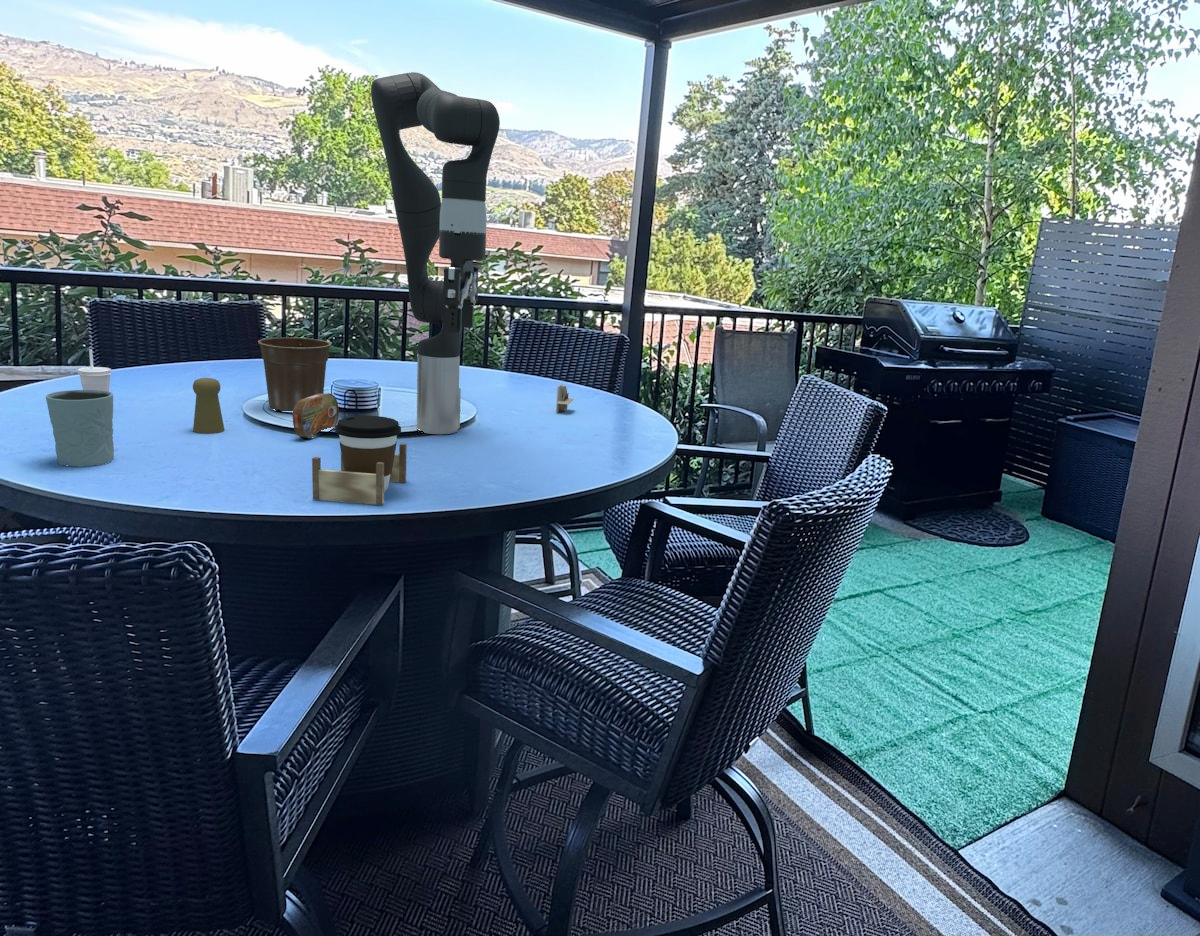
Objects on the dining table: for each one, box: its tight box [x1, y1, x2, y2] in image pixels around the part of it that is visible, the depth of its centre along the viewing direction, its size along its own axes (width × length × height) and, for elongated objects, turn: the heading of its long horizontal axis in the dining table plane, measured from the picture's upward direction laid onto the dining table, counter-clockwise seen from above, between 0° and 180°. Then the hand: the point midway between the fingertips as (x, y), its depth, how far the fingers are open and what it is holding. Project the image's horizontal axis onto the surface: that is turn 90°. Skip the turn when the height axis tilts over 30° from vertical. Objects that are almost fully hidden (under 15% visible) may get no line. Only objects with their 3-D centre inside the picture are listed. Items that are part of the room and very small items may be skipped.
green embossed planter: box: [45, 389, 115, 467], centre depth 149 cm, size 10×10×12 cm
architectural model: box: [555, 383, 574, 414], centre depth 221 cm, size 3×7×7 cm, turn 171°
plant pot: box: [257, 337, 332, 412], centre depth 201 cm, size 16×16×16 cm
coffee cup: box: [334, 415, 402, 492], centre depth 144 cm, size 11×11×12 cm
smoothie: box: [77, 348, 113, 392], centre depth 183 cm, size 6×6×14 cm
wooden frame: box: [311, 443, 408, 506], centre depth 144 cm, size 12×14×7 cm
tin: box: [292, 393, 340, 439], centre depth 180 cm, size 15×3×8 cm, turn 168°
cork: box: [192, 377, 225, 435], centre depth 176 cm, size 6×6×11 cm
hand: (460, 329), depth 141 cm, fingers open, 8 cm apart
